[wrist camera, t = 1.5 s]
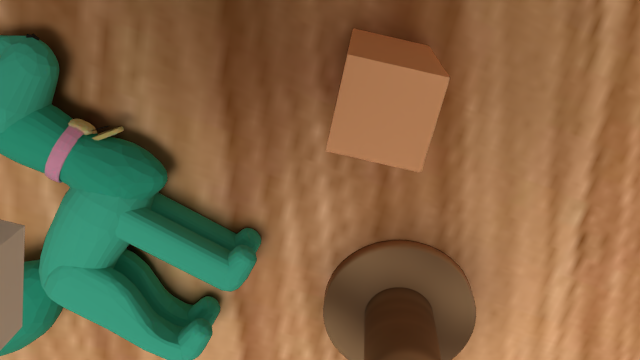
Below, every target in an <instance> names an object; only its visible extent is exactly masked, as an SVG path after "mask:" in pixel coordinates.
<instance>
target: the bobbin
mask: <svg viewBox="0 0 640 360" xmlns="http://www.w3.org/2000/svg"><path fill="white" fill-rule="evenodd" d="M323 317H324V324H325V327H326V331H327V333H328V335H329V337H330V340H331V341H332V343H333V344H334V346H335V347H336V348H337V349H338V350H339V352H340V353H341V354H342V355H344V356H345V357H346V358H347V359H348V360H451V359H453V358H454V357H455V356H456V355H457V354H458V353H459V352H460V351H461V350H462V349H463V348H464V346H465V345H466V343H467V342H468V341H469V338H470V336H471V334H472V332H473V329H474V326H475V319H476V307H475V301H474V297H473V294H472V291H471V288H470V285H469V282H468V280H467V278H466V276H465V274H464V273H463V271H462V270H461V268H460V267H459V266H458V265H457V264H456V263H455V262H454V261H453V260H452V259H451V258H450V257H448V256H447V255H446V254H444V253H442V252H441V251H439V250H437V249H435V248H433V247H431V246H428V245H425V244H422V243H418V242H412V241H403V240H394V241H384V242H379V243H375V244H372V245H369V246H366V247H364V248H362V249H360V250H358V251H356V252H355V253H353V254H351V255H350V256H349V257H347V258H346V259H345V260H344V261H343V262H342V263H341V264H340V265H339V266H338V267H337V269H336V270H335V271H334V273H333V274H332V276H331V278H330V280H329V282H328V285H327V288H326V293H325V300H324V308H323Z"/></svg>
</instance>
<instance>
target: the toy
mask: <svg viewBox="0 0 640 360" xmlns="http://www.w3.org/2000/svg"><path fill="white" fill-rule="evenodd" d="M58 77H59V64H58V61H57V59H56V56H55V55H54V53H53V51H52V50H51V49H50V48H49V46H48V45H47V44H45V43H44V42H42V41H41V40H39V38H38V37H37V36H36V35H35V34H34V33H33V34H32V35H30V34H27V36H7V35H0V153H1V154H2V155H4V156H6V157H8V158H10V159H11V160H13V161H15V162H18V163H20V164H22V165H25V166H27V167H30V168H32V169H35V170H37V171H40V172H42V173H45V175H46V176H47V177H48V178H50V179H51V180H54V181H56V182H59V183H61V182H64V183H66V184H67V185H68V186H69V187H70V189H69V190H68V192H67V193H66V194H65V196H64V198H63V200H62V202H61V204H60V206H59V208H58V211H57V213H56V215H55V217H54V220H53V222H52V224H51V226H50V228H49V231H48V233H47V235H46V238H45V241H44V245H43V249H42V253H41V256H40V259H39V260H33V261H26V262H24V278H23V317H22V327H21V329H20V330H19V331H18V332H17V333H16V334H15V335H14V336H13V337H12V338H11V340H10V341H9V342H8V343H7V344H6V345H5V346H4V347H3V348H2V349H1V350H0V356H2V355H6V354H9V353H12V352H15V351H17V350H19V349H21V348H23V347H25V346H27V345H28V344H30V343H31V342H33V341H34V340H36V339H37V338H39V337H40V336H42V335H43V334H44V333H45V332H46V331H47V330H48V329H49V328H50V327H52V325H53V324H54V322H55V321H56V319H57V318H58V316H59V315H60V313H61V311H62V309H63V307H64V308H66V309H68V310H70V311H72V312H74V313H76V314H78V315H80V316H82V317H84V318H86V319H88V320H90V321H92V322H94V323H96V324H98V325H100V326H102V327H104V328H106V329H108V330H110V331H112V332H114V333H115V334H117V335H119V336H121V337H122V338H124V339H126V340H128V341H129V342H131V343H133V344H135V345H136V346H138V347H140V348H142V349H143V350H146V351H148V352H150V353H153V354H155V355H157V356H160V357H162V358H164V359H167V360H193V359H195V358H197V357H198V356H199V355H200V354H201V353H202V351H203V350H204V348H205V347H206V345H207V343H208V341H209V340H210V338H211V336H212V325H213V323H214V321H215V320H216V318H217V316H218V314H219V312H220V305H219V303H218V301H217V300H216V299H215V298H213V297H210V296H206V297H204V298H202V299H201V300H199V301H198V302H197V303H196V304H194V305H191V304H187V303H184V302H183V301H181V300H179V299H177V298H176V297H174V296H173V295H171V294H170V293H169V292H168V291H167V290H166V289H165V288H164V287H163V285H162V284H161V282H160V281H159V280H158V278H157V277H156V275H155V274H154V273H153V271H152V270H151V268H150V267H149V265H148V264H147V263H146V262H144V261H143V260H142V259H141V258H140V257H139V256H138V255H136V254H135V253H133V252H131V251H129V250H128V249H126V248H127V247H128V245H129V244H131V245H133V246H135V247H137V248H139V249H141V250H143V251H145V252H147V253H149V254H151V255H153V256H155V257H157V258H159V259H161V260H163V261H165V262H167V263H169V264H171V265H173V266H175V267H177V268H179V269H181V270H183V271H185V272H187V273H189V274H191V275H193V276H194V277H196V278H198V279H200V280H202V281H204V282H206V283H208V284H210V285H212V286H214V287H216V288H218V289H220V290H224V291H234V290H236V289H238V288H239V287H240V286H241V285H242V284H243V282H244V281H245V280H246V279H247V278H248V276H249V274H250V272H251V270H252V269H253V267H254V265H255V263H256V260H257V258H256V252H257V250H258V248H259V246H260V244H261V237H260V235H259V234H258V232H257V231H255V230H253V229H251V228H245V229H242V230H241V231H240V232H239V233H238V234H236V233H234V232H232V231H230V230H228V229H226V228H224V227H223V226H221V225H219V224H217V223H215V222H213V221H211V220H209V219H207V218H206V217H204V216H202V215H200V214H198V213H196V212H194V211H192V210H190V209H189V208H187V207H185V206H183V205H181V204H179V203H177V202H175V201H173V200H171V199H170V198H168V197H166V196H164V195H162V194H160V193H158V192H159V191H160V190H161V189H162V188H163V187H164V186H165V184H166V182H167V178H168V177H167V171H166V169H165V168H164V166H163V165H162V163H161V162H160V161H159V160H158V159H156V158H155V157H154V156H153V155H152V154H151V153H150V152H148V151H147V150H145V149H143V148H142V147H140V146H138V145H137V144H135V143H132V142H129V141H126V140H123V139H120V138H115V137H110V136H112V135H115V134H117V133H120V132H122V131H124V129H123V126H120V127H117V128H114V129H111V130H108V131H105V132H102V133H99V134H97V131H96V130H98V129H101V128H98V129H95V127H94V126H93V125H91V124H90V123H88V122H86V121H84V120H82V119H72V118H71V117H70V116H68V115H67V114H66V113H64V112H63V111H61V110H60V109H59V108H57V107H55V106H53V105H52V100H53V97H54V93H55V89H56V85H57V81H58ZM105 127H108V126H105ZM105 127H102V128H105Z"/></svg>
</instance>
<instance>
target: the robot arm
mask: <svg viewBox="0 0 640 360" xmlns="http://www.w3.org/2000/svg"><path fill="white" fill-rule="evenodd" d="M24 239H25V226H24V225H20V224H16V223H12V222H8V221H4V220H0V350H1V349H2V348H3V347H4V346H5V345H6V344H7V343H8V342H9V341H10V340H11V338H12V337H13V336H14V335H15V334H16V333H17V332H18V331H19V330H20V329H21V327H22V317H23V278H24Z"/></svg>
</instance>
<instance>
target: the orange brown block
mask: <svg viewBox="0 0 640 360" xmlns="http://www.w3.org/2000/svg"><path fill="white" fill-rule="evenodd" d="M449 80H450V77H449V75H448V74H447V72H446V71H445V69H444V68H443V66H442V65H441V63H440V62H439V60H438V59H437V57H436V56H435V54H434V53H433V51H432V50H431V48H430V47H429V46H428V45H424V44H420V43H415V42H411V41H407V40H402V39H398V38H394V37H389V36H385V35H380V34H376V33H372V32H367V31H363V30H359V29H354V28H353V31H352V35H351V39H350V44H349V48H348V52H347V57H346V61H345V65H344V70H343V74H342V79H341V83H340V87H339V92H338V96H337V100H336V105H335V110H334V114H333V119H332V123H331V128H330V133H329V137H328V142H327V146H326V151H328V152H332V153H336V154H341V155H345V156H349V157H354V158H358V159H363V160H367V161H371V162H376V163H380V164H384V165H389V166H393V167H398V168H402V169H406V170H411V171H415V172H420V173H421V171H422V168H423V165H424V161H425V158H426V155H427V152H428V148H429V145H430V142H431V139H432V135H433V132H434V129H435V126H436V122H437V119H438V116H439V112H440V109H441V106H442V103H443V99H444V96H445V93H446V90H447V86H448V83H449Z"/></svg>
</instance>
